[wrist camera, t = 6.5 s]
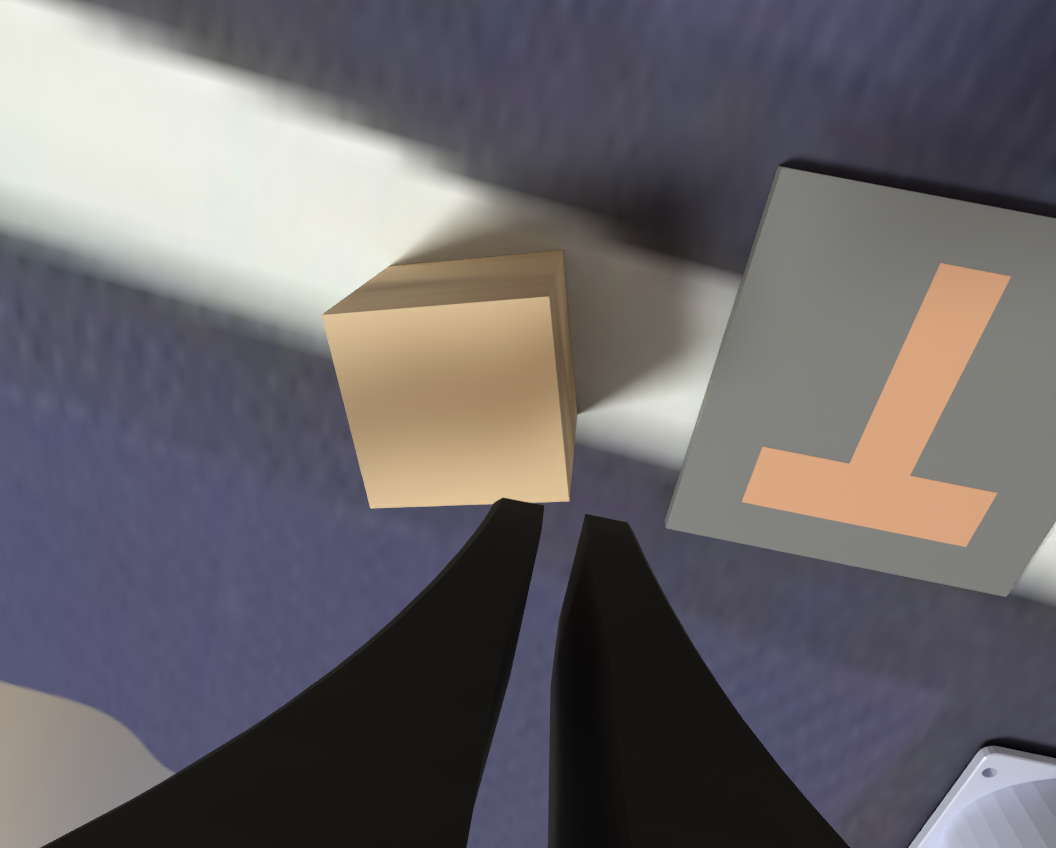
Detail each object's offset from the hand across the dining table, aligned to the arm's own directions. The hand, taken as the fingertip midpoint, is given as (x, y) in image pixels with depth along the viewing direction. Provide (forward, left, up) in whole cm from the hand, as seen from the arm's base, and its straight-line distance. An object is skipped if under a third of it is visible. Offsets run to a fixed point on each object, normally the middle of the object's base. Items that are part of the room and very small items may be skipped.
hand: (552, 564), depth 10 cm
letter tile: (0, -9, -10) cm, 14 cm away
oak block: (-1, +3, -10) cm, 11 cm away
